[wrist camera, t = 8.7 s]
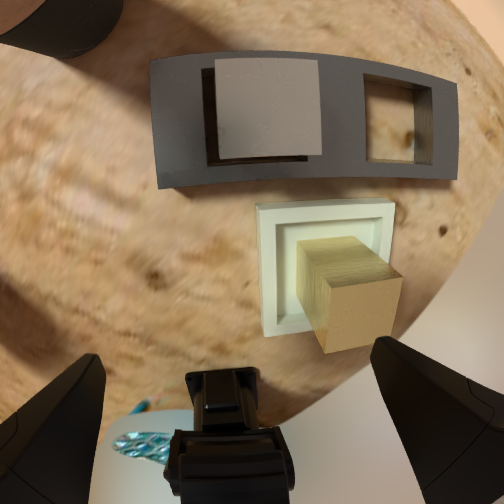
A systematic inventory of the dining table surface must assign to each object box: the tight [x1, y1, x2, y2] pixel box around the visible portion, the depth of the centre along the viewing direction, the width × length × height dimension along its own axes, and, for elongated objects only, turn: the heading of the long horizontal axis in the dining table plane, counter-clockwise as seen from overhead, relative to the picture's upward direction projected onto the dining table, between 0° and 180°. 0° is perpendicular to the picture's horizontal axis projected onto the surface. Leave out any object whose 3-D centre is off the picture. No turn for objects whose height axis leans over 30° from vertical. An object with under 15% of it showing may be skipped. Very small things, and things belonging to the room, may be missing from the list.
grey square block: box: [215, 58, 322, 159], centre depth 15 cm, size 4×4×7 cm
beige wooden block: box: [296, 236, 403, 354], centre depth 19 cm, size 4×4×7 cm
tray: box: [256, 198, 395, 337], centre depth 22 cm, size 10×10×2 cm
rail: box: [149, 51, 459, 190], centre depth 17 cm, size 8×22×2 cm, turn 93°
